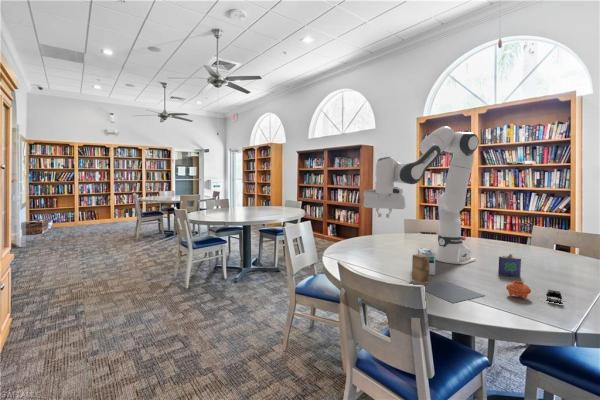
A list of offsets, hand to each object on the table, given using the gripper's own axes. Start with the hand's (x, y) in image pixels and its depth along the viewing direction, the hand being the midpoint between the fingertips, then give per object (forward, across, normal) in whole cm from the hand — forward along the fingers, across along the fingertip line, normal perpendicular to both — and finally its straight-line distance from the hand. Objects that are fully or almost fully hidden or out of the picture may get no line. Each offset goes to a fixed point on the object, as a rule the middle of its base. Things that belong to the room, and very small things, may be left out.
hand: (383, 217), depth 152 cm
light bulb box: (+27, +20, +7) cm, 35 cm away
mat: (+27, +30, -18) cm, 44 cm away
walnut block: (+27, +18, -10) cm, 34 cm away
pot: (+27, +54, -14) cm, 62 cm away
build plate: (+28, +65, -14) cm, 72 cm away
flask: (+27, +57, +16) cm, 66 cm away
